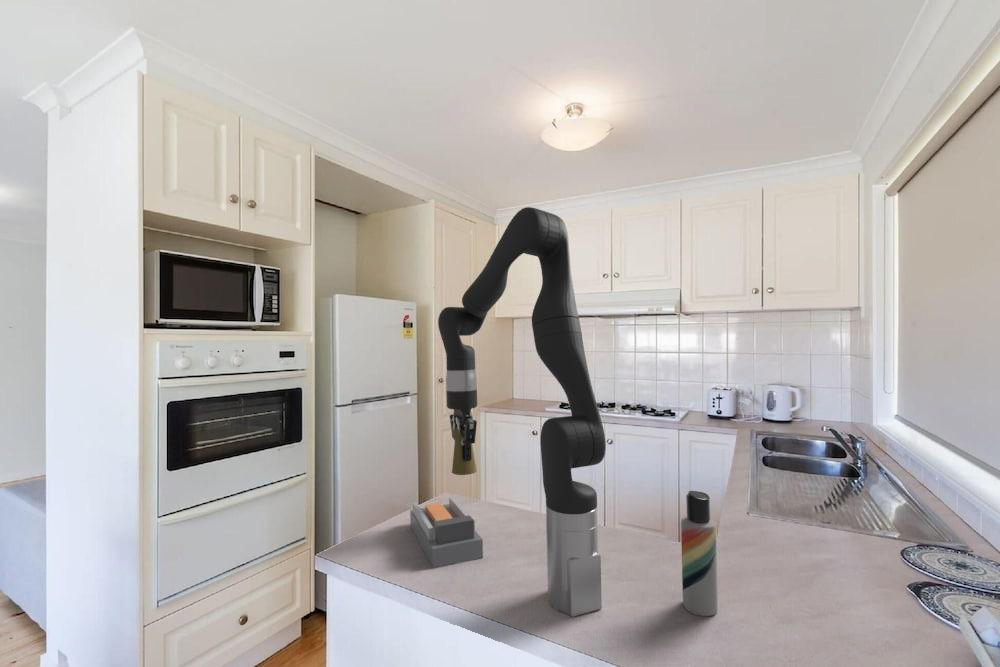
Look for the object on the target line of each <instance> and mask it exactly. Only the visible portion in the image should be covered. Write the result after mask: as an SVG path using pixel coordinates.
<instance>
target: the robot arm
mask: <svg viewBox="0 0 1000 667" xmlns="http://www.w3.org/2000/svg"><path fill="white" fill-rule="evenodd" d="M523 254H524V255H530V256H533V257H537V258H538V261H539V264H540V268H541V276H542V277H541V278H542V281H541V287H540V288H541V289H540V291H539V294H538V297H537V299H536V300H535V304H534V307H533V309H532V314H531V327H532V332H533V339H534V345H535V350H536V353H537V355H538V357H539V358H540V361H541V362H542V363H543V364H544V366H545V367H546V368H547V370H548V371H549V372H550V373H551V375H552V376H553V377H554V378H555V379H556V381H557V382H558V383H559V384H560V386H561V388H562V389H563V391H564V393H565V396H566V397H567V398H566V399H567V401H568V405H569V408H570V413H571V415H569V416H568V415H567V416H559V417H551V418H548V419H546V420H545V421H544V423H543V424H542V426H541V430H540V438H539V440H540V456H541V458H540V459H541V470H542V471H541V472H542V484H543V490H544V495H545V522H546V526H545V528H546V530H545V531H546V532H545V533H546V567H547V568H546V572H547V575H546V576H547V601H548V603H549V605H550V606H552V607H553V608H554V609H556V610H558V611H559V612H562V613H566V614H568V615H569V616H570V617H572V618H573V617H576V616H577V617H578V616H581V615H583V614H587V613H590V612H595V611H598V610H600V609H603V608H602V607H603V606H602V605H603V603H602V601H603V600H602V565H601V564H602V563H601V562H602V561H601V558H602V556H601V554H600V553H599V536H598V535H599V534H598V533H599V530H598V529H599V528H598V523H599V522H598V494H597V491H596V490H595V488H593V487H592V486H590V485H589V484H587V483H584V482H580V481H575V480H573V477H572V476H573V474H572V469H576V468H583V467H591V466H595V465H598V464H600V463H601V462H602V461H603V460H604V458H605V455H606V451H607V450H606V436H605V430H604V427H603V426H604V425H603V422H602V418H601V413H600V412H599V411H600V410H599V408H598V404H597V401H596V396H595V393H594V390H593V386H592V383H591V377H590V373H589V369H588V368H589V367H588V363H587V359H586V358H587V357H586V353H585V347H584V340H583V332H582V326H581V322H580V317H579V313H578V308H577V303H576V299H575V291H574V283H573V277H572V271H571V258H570V255H571V254H570V245H569V234H568V229H567V226H566V223H565V222H564V220H563V219H562V218H561V217H560V216H558V215H556V214H554V213H551V212H548V211H545V210H542V209H540V208H539V209H538V208H535V207H531V206H530V207H529V206H527V207H522V208H521V209H519V210H518V211H517V212H516V213H515V215H514V216H513V217H512V219H511V220H510V222H508V225H507V226H506V228H505V229H504V231H503V233H502V236H501V237H500V238H499V241H498V242H497V244H496V246H495V248H494V249H493V252H492V254H491V255H490V257H489V258H488V261H487V263H486V264H485V266H484V268H483V269H482V271H481V272H480V273H479V275H478V276H477V277H476V278H475V280H474V281H473V282H472V283H471V285H470V286H469V287H468V288H467V290H466V291H465V292H464V294H463V296H462V297H461V298H462V299H461V303H462V306H463V307H462V306H461V307H459V306H448V307H447V306H446V307H444V308H443V309H442V310H441V312H440V314H439V315H438V321H437V325H438V332H439V334H440V336H441V340H442V344H443V348H444V351H445V355H446V358H445V359H446V374H445V375H446V376H445V385H446V386H445V387H446V388H445V393H446V394H445V395H446V397H445V398H446V408H447V409H449V410H453V413H452V414H449V420H450V429H451V433H452V432H453V429H454V428H456V427H458V433H459V436H461V444H462V460H463V461H470V460H471V459H472V458H471V445H472V446H473V444H475V443H476V433H477V422H478V421H477V420H476V419H473V415H472V410H473V409H475V408H476V407H478V380H477V378H478V377H477V373H476V353H475V349H474V347H472V346H471V345H467V344H464V343H463V341H462V339H461V336H462V337H463V336H464V337H466V336H469V337H470V336H472V335H475V334H476V333H477V332H478V331H480V329H481V327H482V326H483V324H484V321H485V319H486V317H487V315H488V312H489V311H490V310H491V309H492V308H493V307H494V306H495V305H496V303H497V302H498V301H499V300H500V299H501V297H502V296H503V294H504V292H505V290H506V288H507V282H508V274H509V270H510V268H511V267H512V265H513V263H514V262H515V261H516V260H517V259H518V258H519V257H520V256H522V255H523ZM462 430H465V431H464V432H462ZM468 436H469V439H467V438H468ZM451 437H452V438H453V435H452V434H451Z"/></svg>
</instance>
